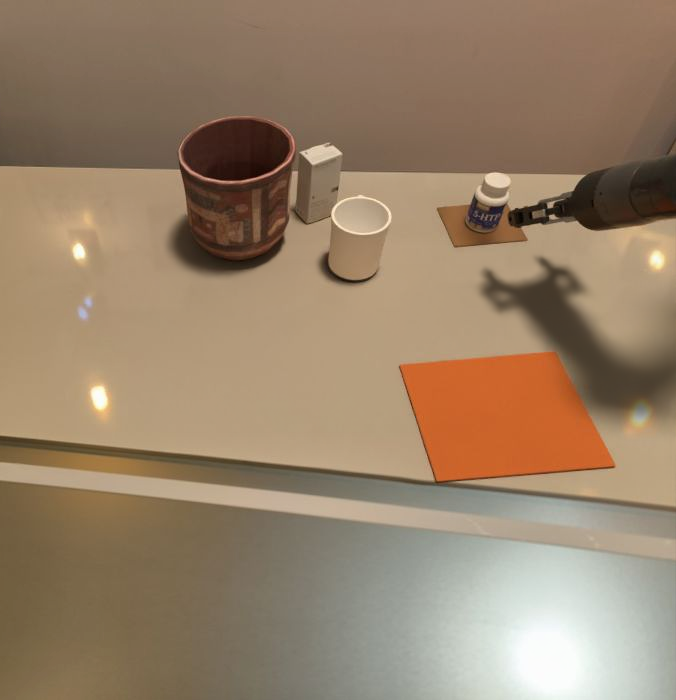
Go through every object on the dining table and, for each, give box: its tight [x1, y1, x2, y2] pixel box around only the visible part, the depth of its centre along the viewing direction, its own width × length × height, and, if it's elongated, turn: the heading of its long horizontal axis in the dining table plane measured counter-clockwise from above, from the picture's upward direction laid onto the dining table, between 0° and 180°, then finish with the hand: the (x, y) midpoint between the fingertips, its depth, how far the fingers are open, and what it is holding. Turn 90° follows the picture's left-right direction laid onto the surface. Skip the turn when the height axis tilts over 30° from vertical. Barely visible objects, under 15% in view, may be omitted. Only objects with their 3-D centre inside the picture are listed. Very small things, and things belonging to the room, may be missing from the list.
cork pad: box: [436, 203, 528, 248], centre depth 103 cm, size 12×10×1 cm
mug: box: [327, 194, 392, 283], centre depth 96 cm, size 11×9×10 cm
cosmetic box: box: [295, 142, 344, 224], centre depth 103 cm, size 6×4×12 cm
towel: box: [399, 350, 617, 483], centre depth 80 cm, size 22×18×1 cm
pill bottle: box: [465, 171, 512, 233], centre depth 99 cm, size 5×5×9 cm
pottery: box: [177, 115, 297, 261], centre depth 98 cm, size 18×18×18 cm
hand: (537, 212), depth 89 cm, fingers open, 8 cm apart
